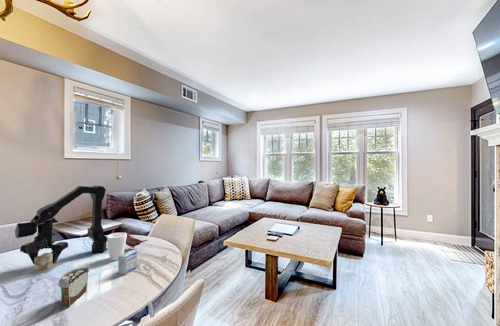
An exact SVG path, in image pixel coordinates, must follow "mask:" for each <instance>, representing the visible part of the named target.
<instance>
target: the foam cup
mask: <svg viewBox="0 0 500 326" xmlns="http://www.w3.org/2000/svg"><path fill="white" fill-rule="evenodd" d="M126 233H127V232H113V233H110V234H108V235H106V237H107V248H108V255H109V260H110V261H112V262H113V260H116V261H118V257H119V256H120V255H122V254H124V253H125V248H126V238H127V234H126Z"/></svg>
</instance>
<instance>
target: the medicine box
mask: <svg viewBox="0 0 500 326" xmlns="http://www.w3.org/2000/svg"><path fill="white" fill-rule="evenodd" d="M117 264H118V269H117V272H118V273H119V274H118V273H117V274H118V275H125V274H126V275H128V274H129V273H131V272H132V271H134V270H135V269H137V268H138V251H137V250H134V249H130V250H129V251H126V252H124V254H122V255H120V256H119V257H118V260H117ZM136 267H137V268H136ZM134 268H135V269H134ZM133 269H134V270H133ZM131 270H132V271H131ZM130 271H131V272H130ZM128 272H129V273H128ZM127 273H128V274H127Z"/></svg>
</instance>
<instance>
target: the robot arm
mask: <svg viewBox="0 0 500 326" xmlns="http://www.w3.org/2000/svg"><path fill="white" fill-rule="evenodd" d="M83 194H90V198H91V200H92V209H91V210H92V212H91V225H90V227H88V228H86V229H87V234H86V235H87V237H88V238H89V239H90V240H91V241H92V244H91V252H90V254H103V253H105V252H106V251H109V249H108V247H107V244H108V241H107V235H105V232H104V228H103V226H102V215H103V213H102V212H103V199H104V198H105V195H106V188H105V187H104V186H102V185H94V186H83V185H78V186H77V187H76V188H74V189H73V190H71V191H70V192H68V193H67V194H65V195H64V196H61V198H59V199H57V200H56V201H54V202H53V203H49V204H47V205H45V206H42V207H41V208H39V209H38V210H37V211H36V215H35V216H33V218H32V219H31V220H30V221H26V222H17V223H16V226H15V229H14V235H15V238H16V239H19V238H25V237H31V236H34V235H35V234H36V236H34V237H33V238H34V239H33V241H31V242H27V243H25V244H22V245H21V246H20V248H19V249H20V250H19V252H21V253H22V254H25V255H28V256H29V259H30V261H31V262H32V264H33V265H34V258H35V257H38V256H39V252H40V250H44V249H51V250H50V253H52V254H53V264H54V263H56V262H58V259H59V258H60V257H59V256H60V255H61V254H62V252H63V251H64V250H66V249H68V248H69V243H68V242H67V241H58V242H57V243H55V240H53V237H54V236H55V235H56V233H55V232H54V224H55V223H59V220H58V219H56V218H55V216H56V215H57V214H59V212H60V211H61V210H62V209H63V208H64V207H65V206H67V205H69V204H70V203H71V202H73V201H74V200H75V199H77V198H79V197H80V196H81V195H83Z"/></svg>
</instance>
